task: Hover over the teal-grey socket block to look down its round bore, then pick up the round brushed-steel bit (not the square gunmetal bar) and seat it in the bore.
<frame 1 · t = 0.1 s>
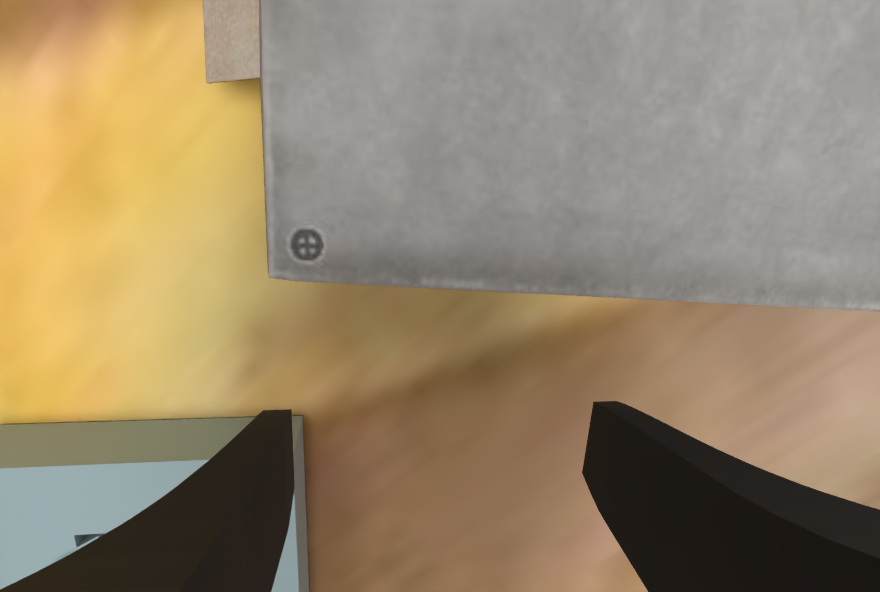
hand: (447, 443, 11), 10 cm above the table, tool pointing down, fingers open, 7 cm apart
socket block: (177, 559, 23), on the table
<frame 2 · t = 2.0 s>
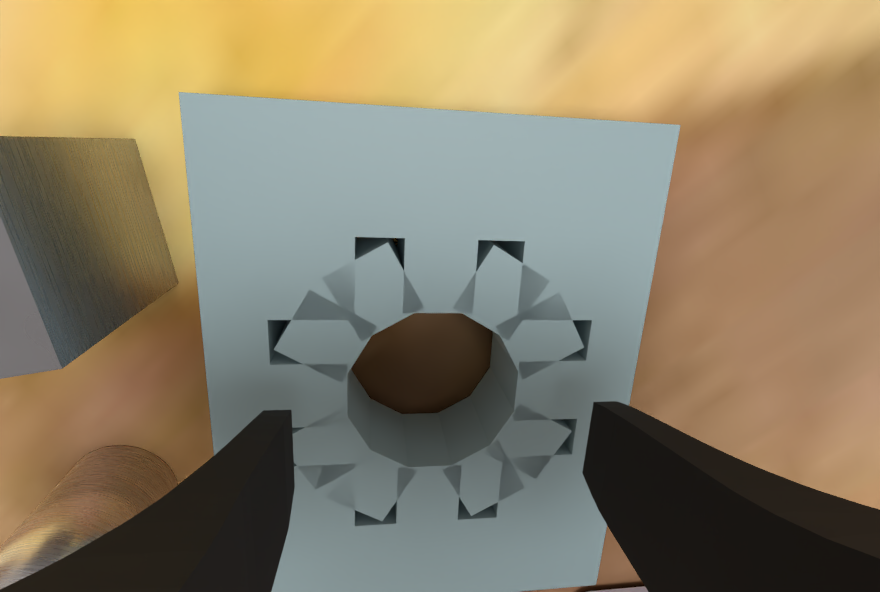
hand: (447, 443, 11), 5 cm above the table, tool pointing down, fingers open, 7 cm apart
square bar: (82, 224, 14), on the table
round bit: (124, 489, 17), on the table
socket block: (422, 350, 17), on the table
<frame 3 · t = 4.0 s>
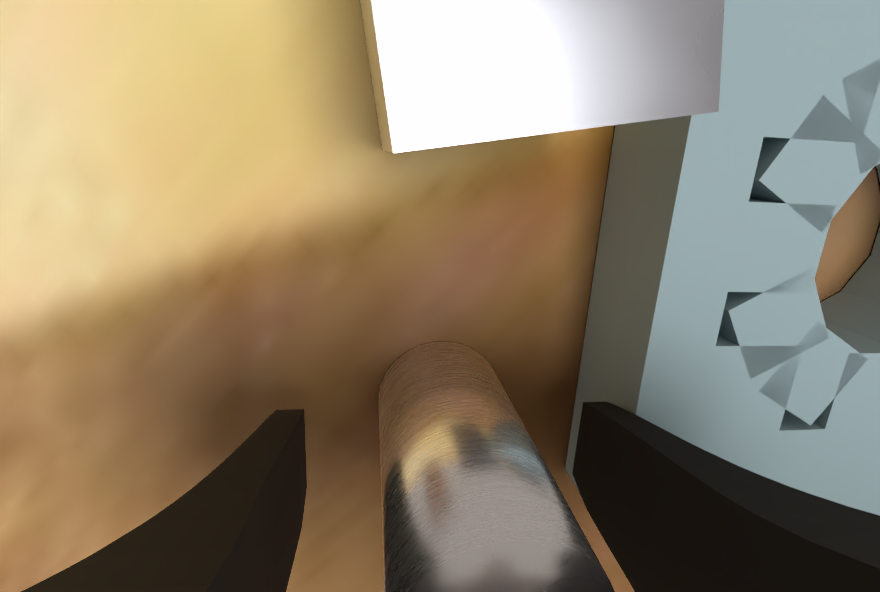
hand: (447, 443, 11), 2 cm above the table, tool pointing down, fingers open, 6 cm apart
square bar: (459, 42, 11), on the table
round bit: (439, 397, 14), on the table
socket block: (803, 230, 14), on the table
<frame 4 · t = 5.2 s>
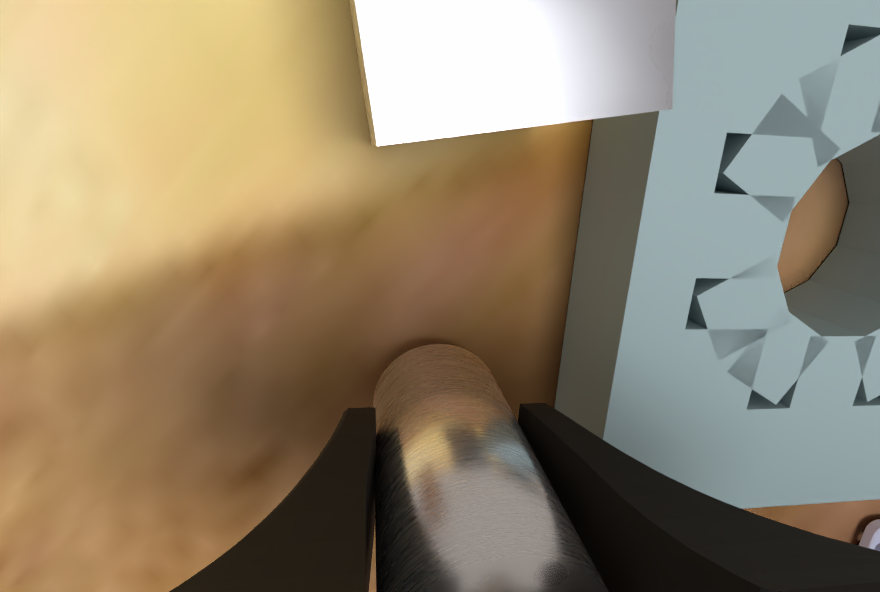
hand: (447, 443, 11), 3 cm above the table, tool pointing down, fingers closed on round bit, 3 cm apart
square bar: (444, 42, 12), on the table
round bit: (435, 401, 13), point 1 cm above the table, touching gripper
socket block: (772, 222, 14), on the table
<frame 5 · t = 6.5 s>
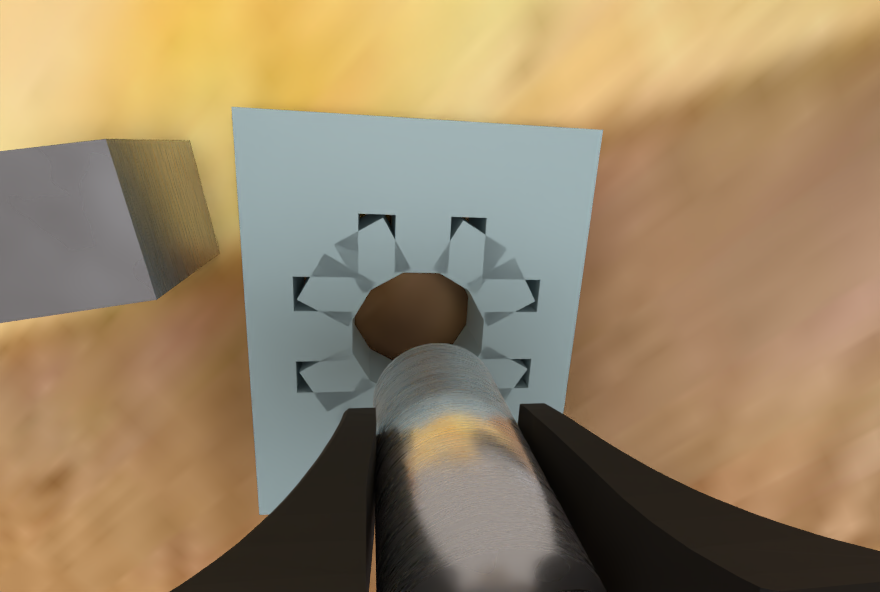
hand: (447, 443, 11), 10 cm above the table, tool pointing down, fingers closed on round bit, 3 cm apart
square bar: (147, 206, 18), on the table
round bit: (434, 399, 13), point 8 cm above the table, touching gripper
socket block: (411, 310, 21), on the table
when the fingers open (3 cm above the table, at t = 8.3 s): round bit drops 1 cm, resting in socket block.
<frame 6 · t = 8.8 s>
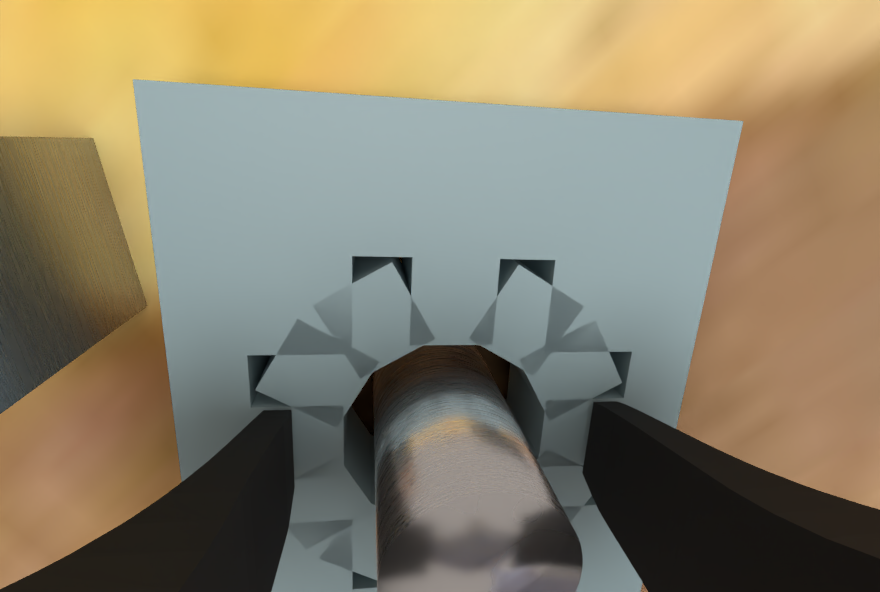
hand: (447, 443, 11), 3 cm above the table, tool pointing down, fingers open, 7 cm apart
square bar: (32, 238, 12), on the table
round bit: (430, 381, 15), resting in socket block
socket block: (430, 380, 14), on the table
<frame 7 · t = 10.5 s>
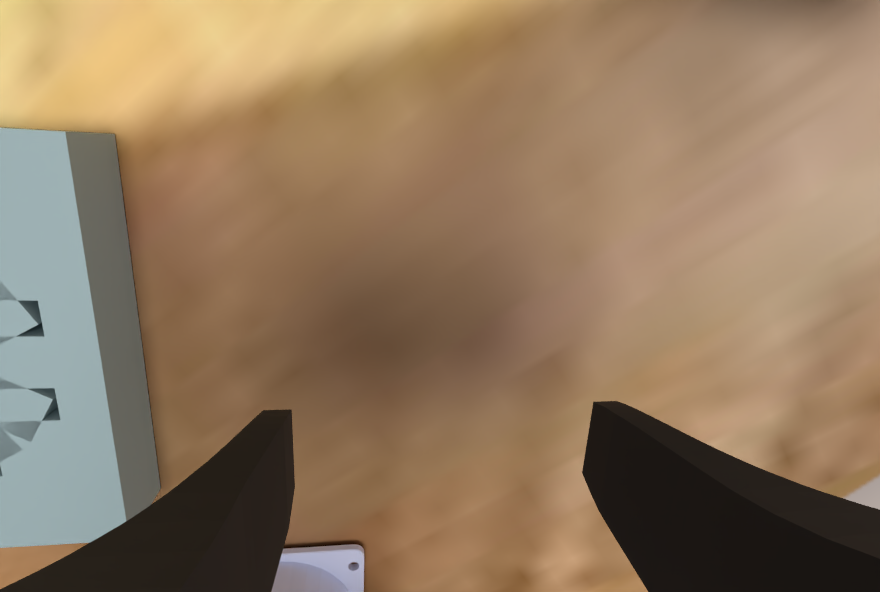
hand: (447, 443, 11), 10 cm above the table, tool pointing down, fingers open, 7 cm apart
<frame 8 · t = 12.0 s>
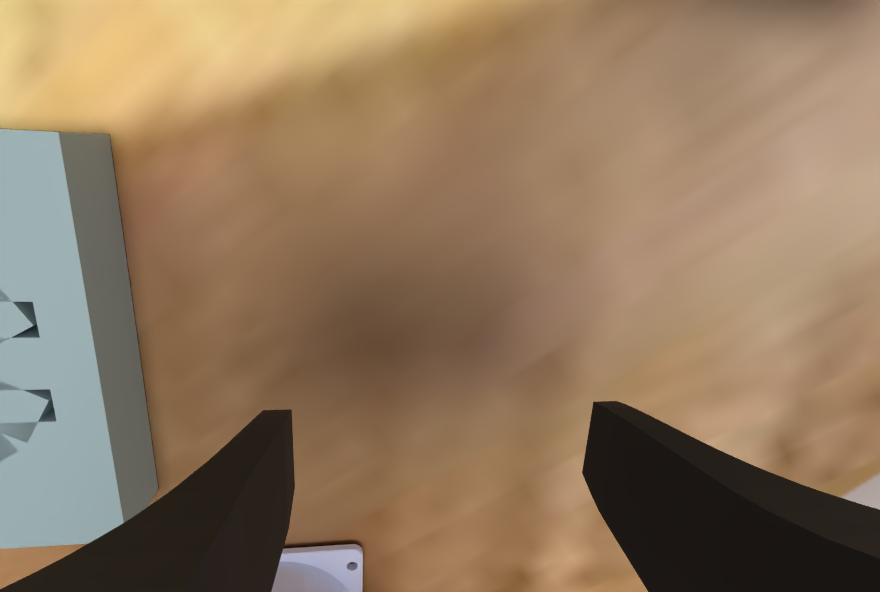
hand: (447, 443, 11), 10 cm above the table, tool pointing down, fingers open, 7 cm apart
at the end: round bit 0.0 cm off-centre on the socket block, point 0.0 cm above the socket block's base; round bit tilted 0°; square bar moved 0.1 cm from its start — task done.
